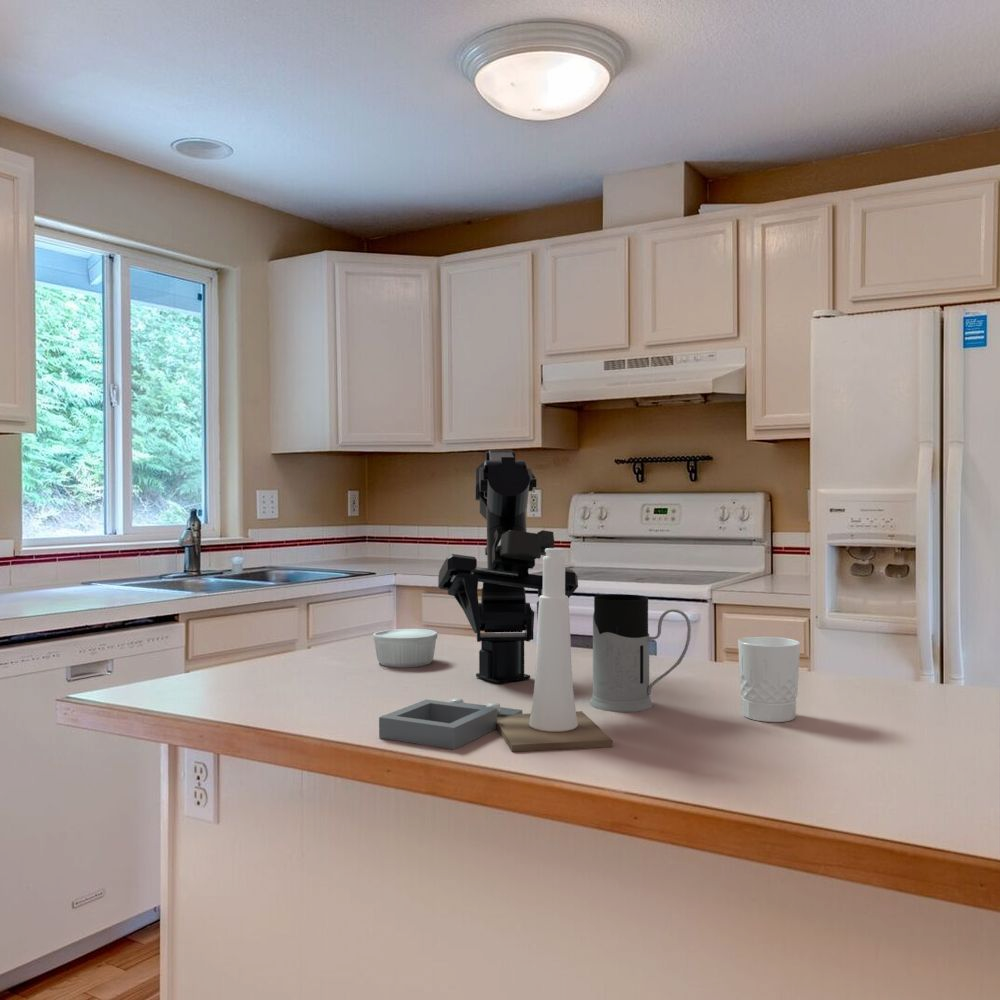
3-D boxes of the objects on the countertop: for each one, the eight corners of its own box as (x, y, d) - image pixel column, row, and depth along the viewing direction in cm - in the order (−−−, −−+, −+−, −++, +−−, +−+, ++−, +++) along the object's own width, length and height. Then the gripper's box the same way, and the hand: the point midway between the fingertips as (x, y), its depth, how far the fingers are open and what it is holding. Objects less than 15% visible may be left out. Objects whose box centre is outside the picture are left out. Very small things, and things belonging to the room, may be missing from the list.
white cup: (767, 726, 117) (767, 648, 117) (725, 713, 124) (725, 639, 124) (813, 719, 120) (813, 643, 120) (769, 706, 127) (769, 634, 127)
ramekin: (382, 656, 166) (382, 627, 166) (443, 657, 165) (443, 628, 165) (365, 668, 155) (365, 637, 155) (430, 670, 154) (429, 638, 154)
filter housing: (454, 707, 127) (453, 689, 127) (522, 716, 122) (522, 697, 122) (379, 737, 112) (379, 717, 112) (453, 749, 107) (453, 727, 107)
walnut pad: (492, 721, 120) (492, 715, 120) (581, 717, 122) (581, 711, 122) (511, 751, 106) (511, 744, 106) (612, 746, 108) (612, 739, 108)
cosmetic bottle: (556, 735, 110) (557, 551, 109) (519, 726, 114) (519, 548, 114) (587, 725, 114) (588, 548, 114) (550, 717, 118) (550, 546, 118)
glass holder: (602, 694, 135) (602, 592, 135) (698, 704, 129) (698, 597, 128) (580, 707, 127) (580, 599, 127) (681, 718, 121) (682, 604, 121)
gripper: (458, 495, 123) (458, 601, 114) (588, 515, 128) (597, 617, 119) (438, 537, 132) (436, 637, 123) (560, 554, 136) (567, 651, 128)
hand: (510, 635), depth 123 cm, fingers open, 9 cm apart
